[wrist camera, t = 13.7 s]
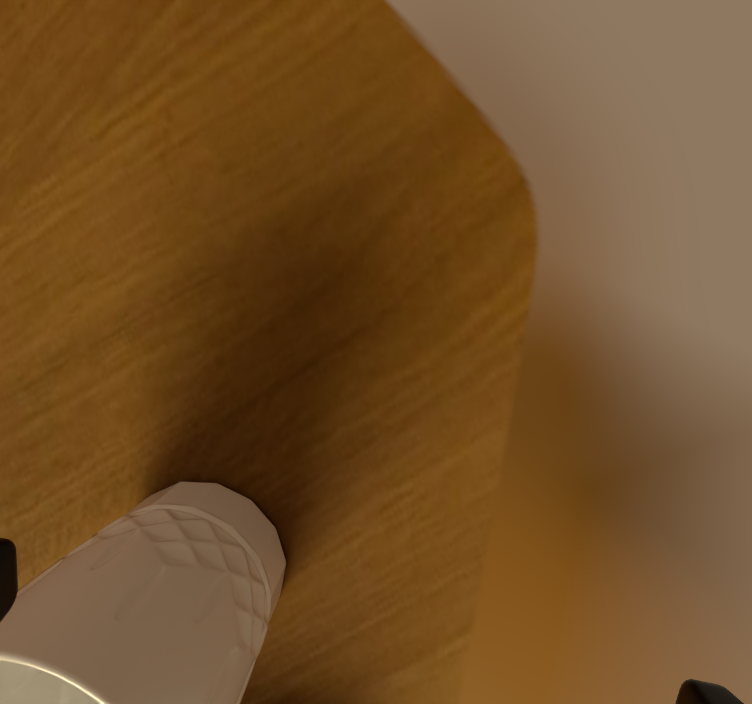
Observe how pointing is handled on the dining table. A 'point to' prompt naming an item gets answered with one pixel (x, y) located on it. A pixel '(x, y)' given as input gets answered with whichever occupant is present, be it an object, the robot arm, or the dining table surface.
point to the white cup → (149, 607)
